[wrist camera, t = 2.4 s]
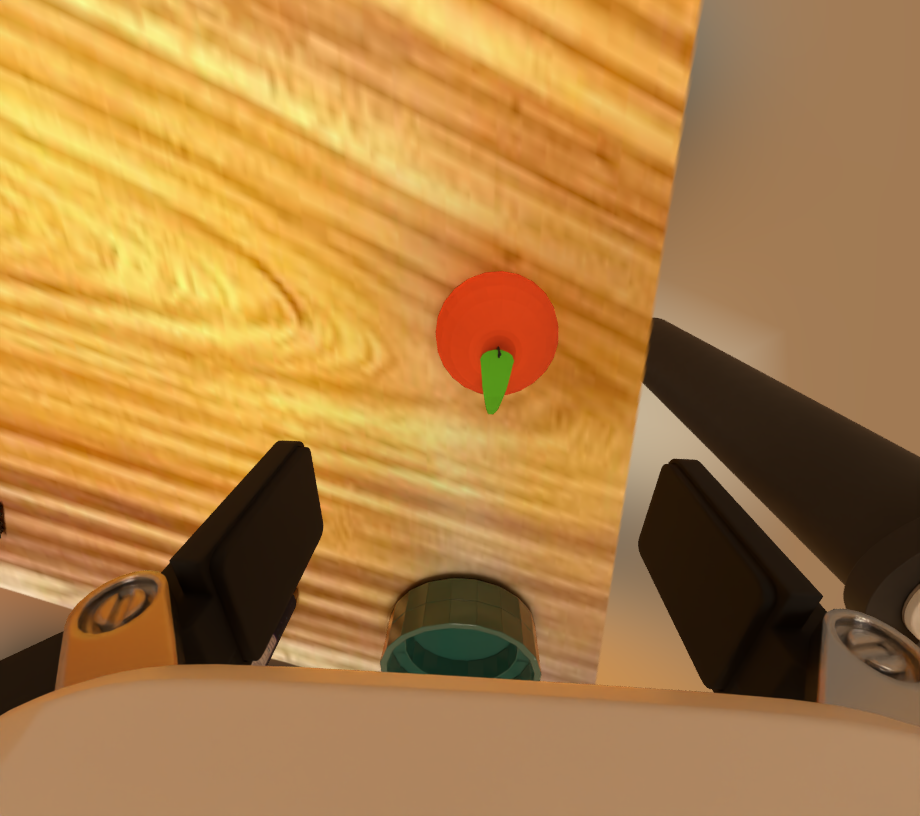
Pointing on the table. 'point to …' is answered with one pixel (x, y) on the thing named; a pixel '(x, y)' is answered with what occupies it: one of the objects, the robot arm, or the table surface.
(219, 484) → the table surface
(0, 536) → the figurine
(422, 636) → the bowl
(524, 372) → the clementine
